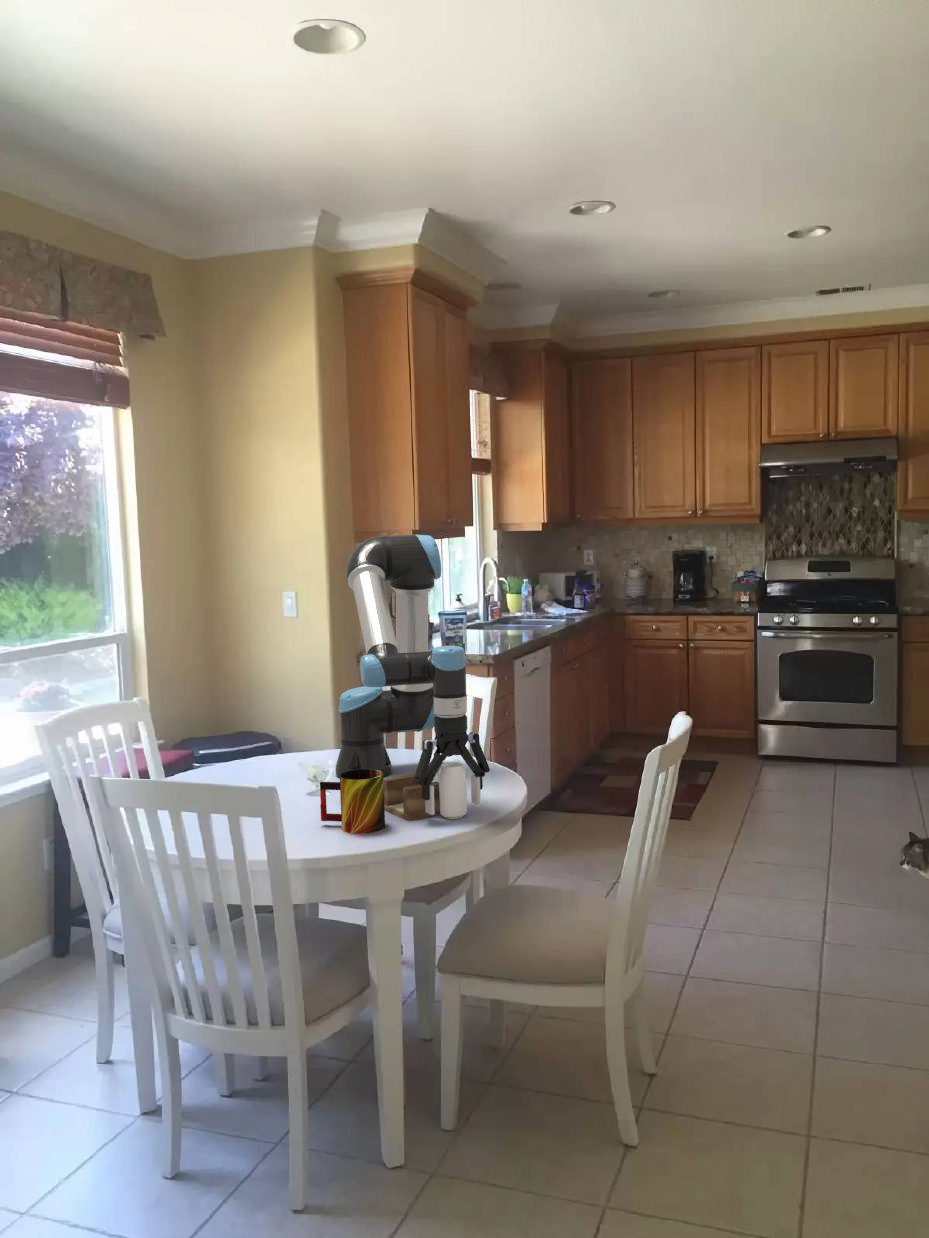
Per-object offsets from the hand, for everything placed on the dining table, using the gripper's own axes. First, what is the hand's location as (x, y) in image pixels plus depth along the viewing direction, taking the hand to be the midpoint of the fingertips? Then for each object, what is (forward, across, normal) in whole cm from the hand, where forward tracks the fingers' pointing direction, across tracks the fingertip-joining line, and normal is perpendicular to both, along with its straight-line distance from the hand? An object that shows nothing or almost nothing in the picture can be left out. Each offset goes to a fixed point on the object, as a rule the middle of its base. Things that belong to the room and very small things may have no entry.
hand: (453, 808), depth 233 cm
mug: (+2, -22, +6) cm, 23 cm away
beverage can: (+2, 0, 0) cm, 2 cm away
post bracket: (+2, -5, +10) cm, 11 cm away
